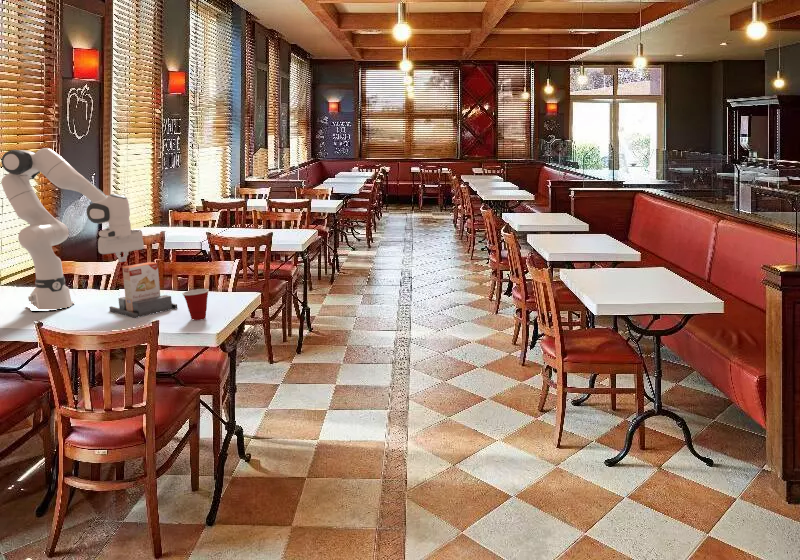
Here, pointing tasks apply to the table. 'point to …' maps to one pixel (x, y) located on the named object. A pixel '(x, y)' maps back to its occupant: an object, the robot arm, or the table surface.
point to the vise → (147, 306)
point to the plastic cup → (197, 303)
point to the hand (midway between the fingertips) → (122, 261)
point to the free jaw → (122, 303)
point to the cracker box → (140, 282)
